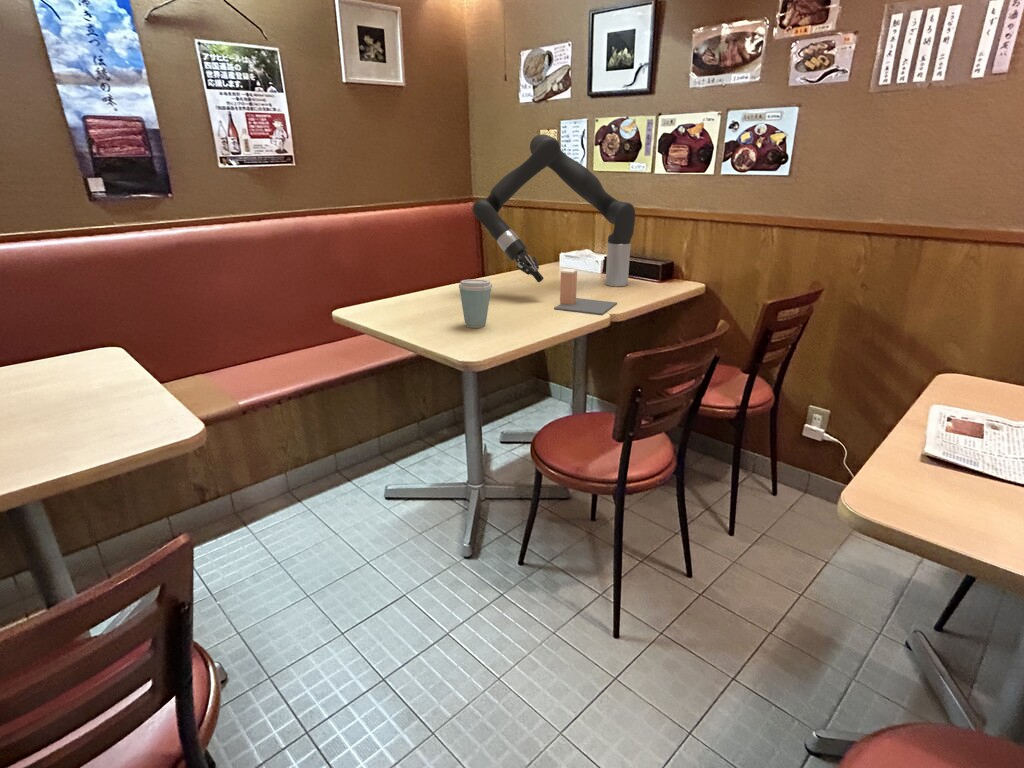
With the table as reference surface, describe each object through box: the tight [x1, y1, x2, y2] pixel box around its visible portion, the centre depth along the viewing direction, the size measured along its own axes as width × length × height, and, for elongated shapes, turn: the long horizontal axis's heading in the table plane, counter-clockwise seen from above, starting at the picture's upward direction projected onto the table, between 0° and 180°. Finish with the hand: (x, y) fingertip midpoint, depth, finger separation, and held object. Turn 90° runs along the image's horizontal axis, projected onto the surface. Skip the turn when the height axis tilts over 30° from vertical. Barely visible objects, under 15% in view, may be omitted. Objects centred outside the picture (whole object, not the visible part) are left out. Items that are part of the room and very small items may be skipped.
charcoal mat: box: [553, 297, 618, 316], centre depth 213 cm, size 17×18×1 cm
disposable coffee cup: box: [458, 278, 493, 329], centre depth 189 cm, size 11×11×15 cm
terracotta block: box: [559, 268, 578, 305], centre depth 214 cm, size 4×4×12 cm
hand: (541, 280), depth 218 cm, fingers closed
